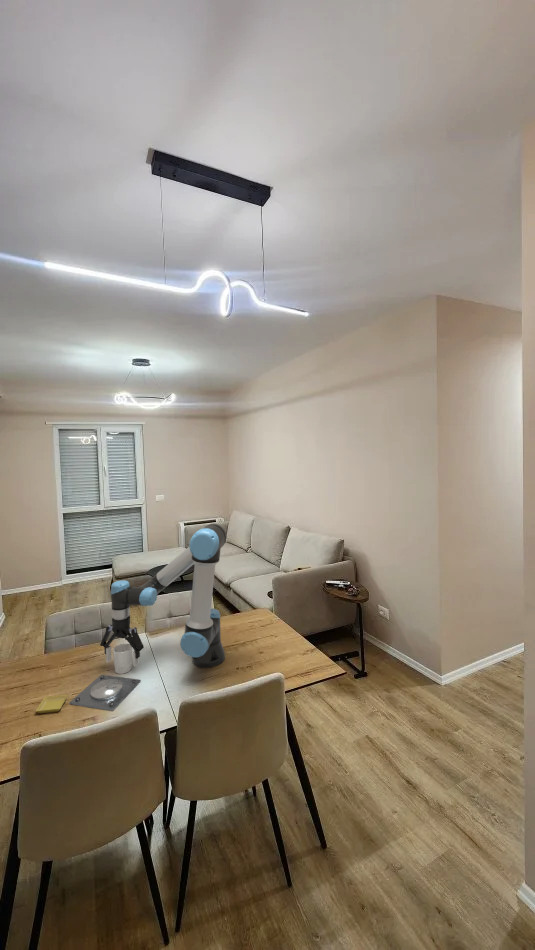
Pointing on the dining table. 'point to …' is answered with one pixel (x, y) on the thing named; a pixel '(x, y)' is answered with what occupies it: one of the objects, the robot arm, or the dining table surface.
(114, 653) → the white cup
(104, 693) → the panel
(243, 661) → the dining table surface
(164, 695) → the dining table surface
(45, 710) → the yellow square tray
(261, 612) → the dining table surface
